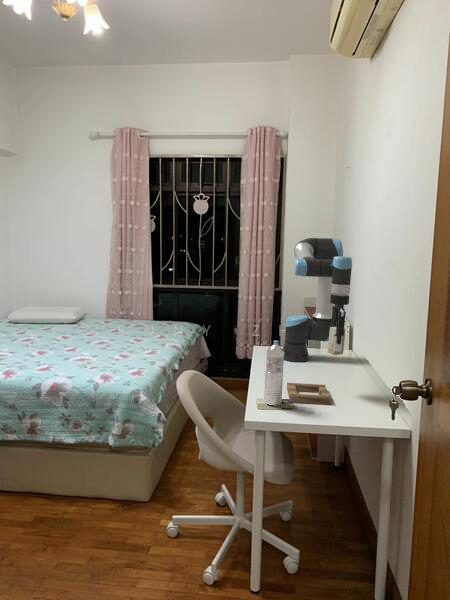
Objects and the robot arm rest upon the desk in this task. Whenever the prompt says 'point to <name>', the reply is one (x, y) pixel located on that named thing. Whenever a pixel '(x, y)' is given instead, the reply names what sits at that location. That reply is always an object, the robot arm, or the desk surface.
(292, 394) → the socket
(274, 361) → the water bottle
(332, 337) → the box
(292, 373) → the desk surface
